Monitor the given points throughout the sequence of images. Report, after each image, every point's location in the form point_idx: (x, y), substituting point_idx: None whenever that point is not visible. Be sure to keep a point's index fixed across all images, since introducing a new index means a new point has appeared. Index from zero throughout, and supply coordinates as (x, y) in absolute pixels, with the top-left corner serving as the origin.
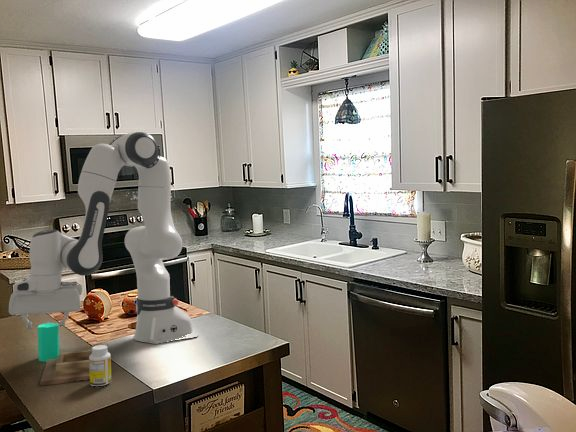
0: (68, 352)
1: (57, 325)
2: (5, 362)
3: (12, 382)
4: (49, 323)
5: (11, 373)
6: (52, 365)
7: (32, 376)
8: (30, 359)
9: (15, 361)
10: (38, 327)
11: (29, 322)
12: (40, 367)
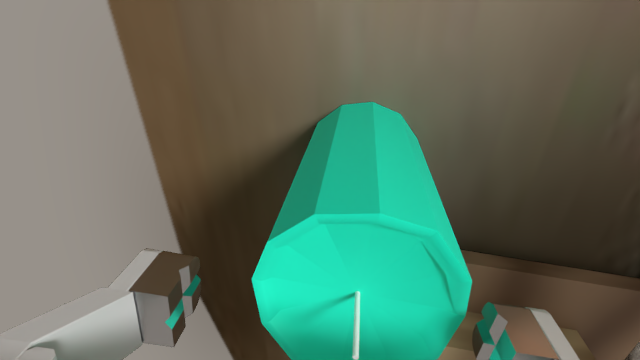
0: (446, 352)
1: (454, 307)
2: (145, 117)
3: (230, 347)
4: (380, 222)
5: (210, 272)
6: None
7: None
8: (265, 128)
9: (193, 125)
10: (263, 318)
11: (146, 322)
12: None
